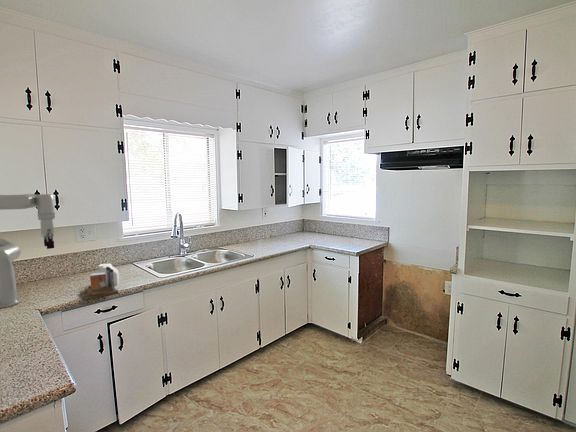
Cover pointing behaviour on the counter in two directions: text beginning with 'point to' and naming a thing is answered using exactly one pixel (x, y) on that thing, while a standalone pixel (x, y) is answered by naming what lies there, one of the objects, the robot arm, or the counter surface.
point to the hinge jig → (109, 290)
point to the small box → (98, 280)
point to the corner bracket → (115, 272)
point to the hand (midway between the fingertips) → (49, 247)
